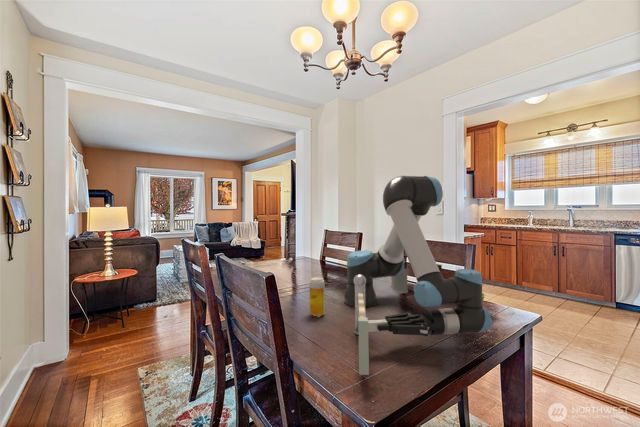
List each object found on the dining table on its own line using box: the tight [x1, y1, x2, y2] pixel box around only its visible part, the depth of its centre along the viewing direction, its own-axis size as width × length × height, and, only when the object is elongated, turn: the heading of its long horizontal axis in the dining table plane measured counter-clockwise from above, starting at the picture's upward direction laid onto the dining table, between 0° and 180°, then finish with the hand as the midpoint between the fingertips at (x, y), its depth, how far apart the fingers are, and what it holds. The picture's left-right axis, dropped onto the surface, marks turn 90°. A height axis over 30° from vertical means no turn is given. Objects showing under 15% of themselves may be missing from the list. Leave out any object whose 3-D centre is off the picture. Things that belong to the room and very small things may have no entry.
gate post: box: [353, 274, 367, 336], centre depth 100 cm, size 5×5×21 cm
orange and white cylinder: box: [309, 276, 326, 317], centre depth 117 cm, size 6×6×15 cm
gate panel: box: [357, 293, 370, 376], centre depth 85 cm, size 26×2×14 cm, turn 174°
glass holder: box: [389, 261, 409, 295], centre depth 151 cm, size 9×14×15 cm, turn 23°
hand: (365, 326), depth 86 cm, fingers closed
